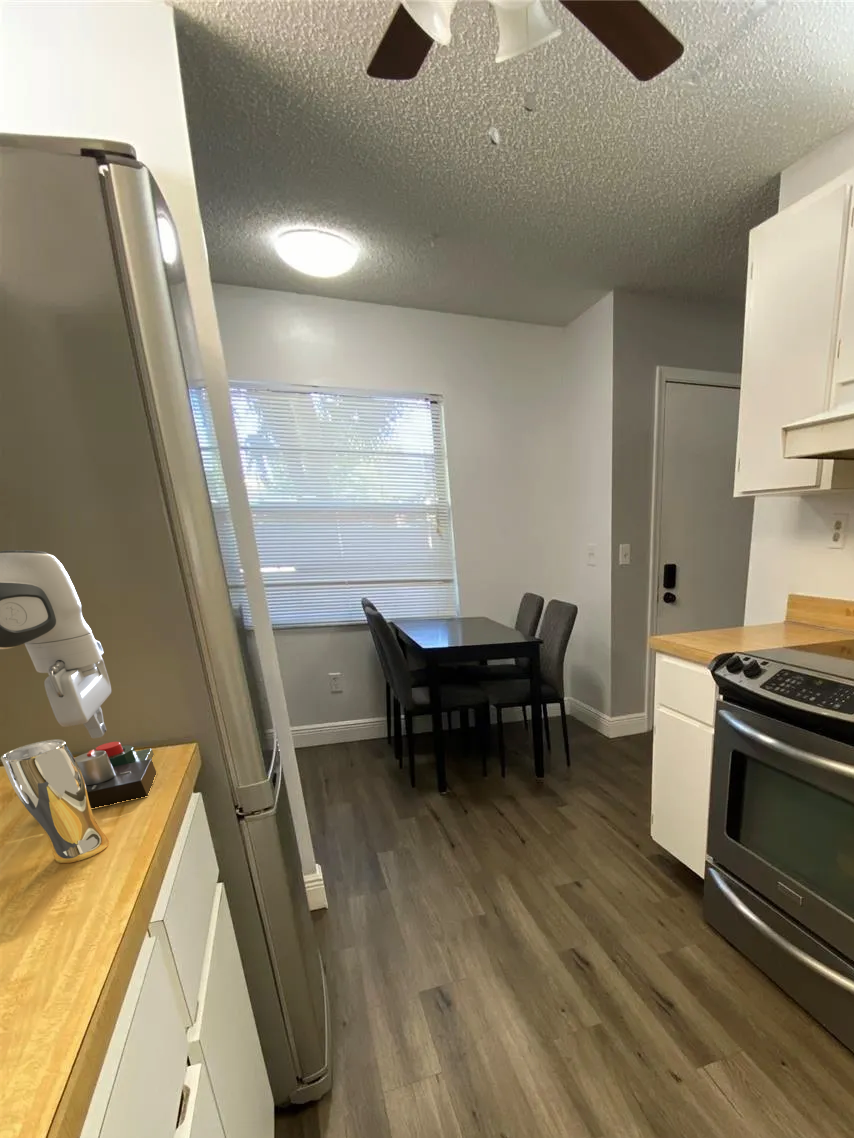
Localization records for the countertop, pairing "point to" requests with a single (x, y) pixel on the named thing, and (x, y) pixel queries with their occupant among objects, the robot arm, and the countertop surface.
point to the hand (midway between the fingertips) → (99, 735)
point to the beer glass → (56, 798)
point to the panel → (123, 784)
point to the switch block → (130, 756)
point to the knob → (95, 767)
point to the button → (110, 748)
